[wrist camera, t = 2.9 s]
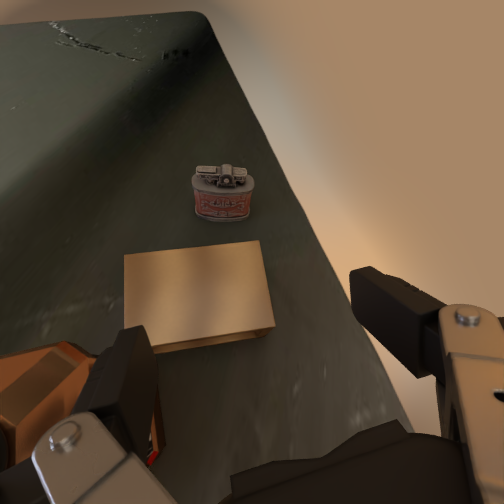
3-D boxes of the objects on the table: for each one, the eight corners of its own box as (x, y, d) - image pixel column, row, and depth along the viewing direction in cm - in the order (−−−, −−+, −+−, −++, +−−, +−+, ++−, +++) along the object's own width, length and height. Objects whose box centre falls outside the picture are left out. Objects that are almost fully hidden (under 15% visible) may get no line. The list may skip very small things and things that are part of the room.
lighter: (248, 203, 46) (256, 159, 36) (249, 222, 44) (257, 181, 35) (196, 201, 45) (190, 155, 36) (194, 220, 43) (188, 178, 34)
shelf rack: (143, 356, 35) (124, 350, 28) (141, 278, 39) (123, 254, 32) (264, 336, 38) (275, 326, 30) (251, 264, 42) (258, 240, 34)
